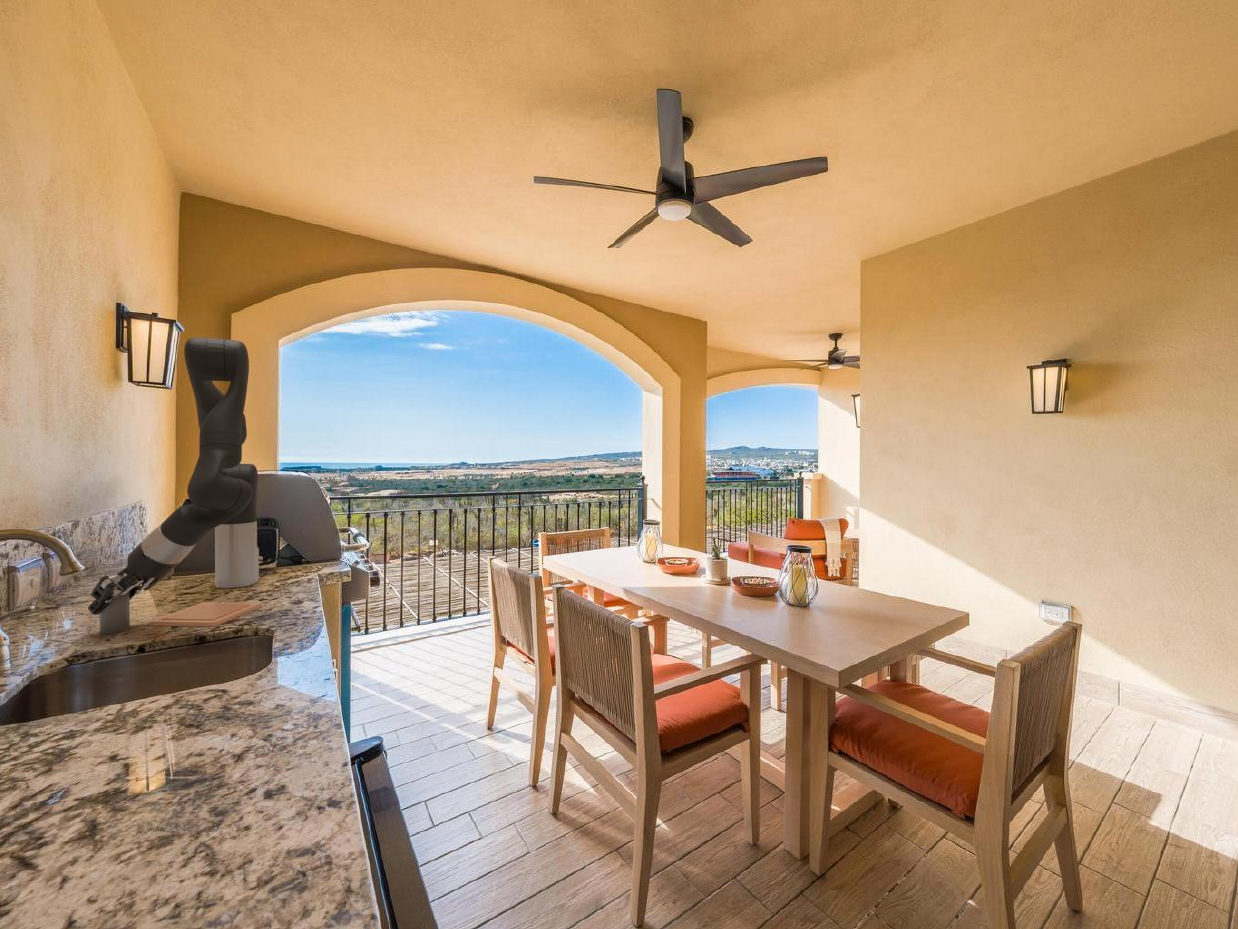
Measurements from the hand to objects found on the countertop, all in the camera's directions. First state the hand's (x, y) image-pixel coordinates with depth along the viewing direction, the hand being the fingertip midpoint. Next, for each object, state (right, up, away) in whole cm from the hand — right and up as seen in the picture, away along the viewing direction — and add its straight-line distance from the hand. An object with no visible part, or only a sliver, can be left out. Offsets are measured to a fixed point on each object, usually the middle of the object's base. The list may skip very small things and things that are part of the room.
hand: (105, 607), depth 105 cm
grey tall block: (+2, -5, 0) cm, 5 cm away
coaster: (+13, -5, +10) cm, 17 cm away
